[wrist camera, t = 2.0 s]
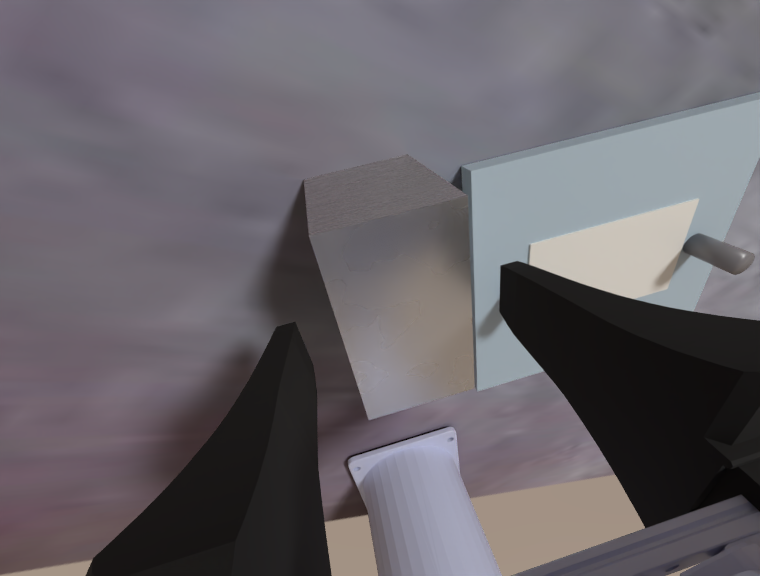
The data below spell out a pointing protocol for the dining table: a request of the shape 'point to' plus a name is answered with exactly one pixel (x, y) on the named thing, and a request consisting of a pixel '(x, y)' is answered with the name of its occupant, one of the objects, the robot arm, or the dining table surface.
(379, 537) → the robot arm
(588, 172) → the pegged base plate
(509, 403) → the dining table surface
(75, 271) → the dining table surface
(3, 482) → the dining table surface
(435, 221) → the brushed metal pillar
